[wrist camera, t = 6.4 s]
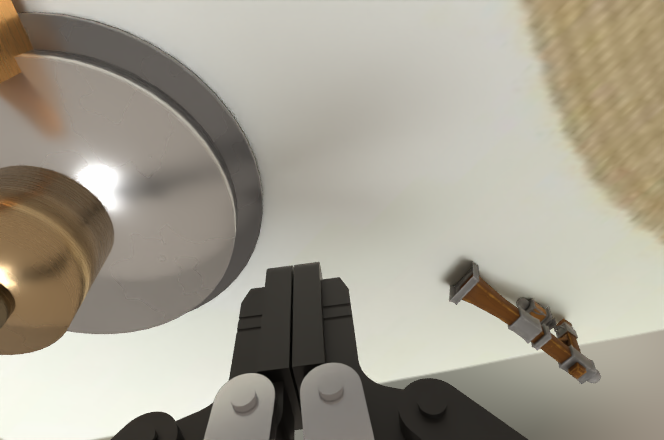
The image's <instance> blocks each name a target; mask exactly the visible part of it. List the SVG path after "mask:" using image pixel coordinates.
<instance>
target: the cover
mask: <svg viewBox="0 0 664 440" xmlns="http://www.w3.org/2000/svg"><path fill="white" fill-rule="evenodd" d="M113 243H114V229H113V224H112V221H111V218H110V216H109V214H108V212H107V210H106V209H105V208H104V206H103V205H102V203H101V202H100V201H99V200H98V199H97V198H96V196H95V195H93V194H92V193H91V192H90V191H89V190H88V189H87V188H85V187H84V186H83V185H81V184H80V183H78V182H76V181H75V180H73V179H71V178H69V177H67V176H65V175H63V174H61V173H58V172H55V171H53V170H49V169H45V168H41V167H35V166H24V165H18V166H8V167H3V168H0V355H15V354H24V353H30V352H34V351H37V350H41V349H43V348H45V347H48V346H50V345H51V344H53V343H55V342H56V341H57V340H58V339H60V338H61V337H62V336H63V335H64V333H65V332H66V331H67V329H68V327H69V326H70V324H71V322H72V320H73V318H74V317H75V315H76V313H77V311H78V309H79V308H80V306H81V304H82V302H83V300H84V299H85V297H86V295H87V293H88V292H89V290H90V288H91V286H92V284H93V283H94V281H95V279H96V277H97V275H98V274H99V272H100V270H101V268H102V266H103V265H104V263H105V261H106V259H107V258H108V256H109V254H110V252H111V250H112V247H113Z"/></svg>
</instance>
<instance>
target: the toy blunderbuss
mask: <svg viewBox="0 0 664 440" xmlns="http://www.w3.org/2000/svg"><path fill="white" fill-rule="evenodd" d="M461 299H462V300H464V301H466V302H469V303H471V304H473V305H475V306H477V307H479V308H481V309H483V310H485V311H486V312H488V313H490V314H492V315H494V316H496V317H498V318H499V319H501V320H502V321H504V322H505V323H507V324H508V329H510V330H512V331H514V332H515V333H517V334H518V335H519V336H520V337H522V338H523V339H524V340H525V341H526V342H527V343H529V342H530V341H531V343H532V347H534V348H536V350H538V349H542V350H543V351H544V352H546V353H547V354H548V355H550V356H551V357H553V358H554V359H556V361H558V363H559V367H560V368H561V369H563V370H565V371H566V372H568V373H569V374H570V375H572V376H573V377H574V378H576V379H577V380H578V381H579V382H580V383H581V384H582V383H584V382H585V381H588V382H590V383H597V382H598V381H599V380H600V373H599V372H598V370H596V369H595V366H594V363H593V361H592V360H590V359H588V358H587V357H585V356H584V355H583V354H581V352H580V349H579V346H578V343H577V340H576V339H577V338H578V337H577V334H576V331H575V330H574V329H573V327H572V324H571V323H570V322H568V321H567V320H565V319H564V318H563V319H562V320H561V321H560V322H559V323H558V324H557V323H556V321H555V318H553V317H552V314H551V311H550V309H549V307H547V308H545V309H544V308H543V307H542V306H540V305H539V304H538V303H537V302H535V301H534V300H533V298H532V299H531V300H530V301H529V302H528V300H527V299H525V298H521V299H519V300H518V301H517V307H518V308H517V307H515V306H514V305H513V304H511V303H510V302H508V301H507V300H506V299H505V298H503V297H502V296H501V295H500V294H499V293H498V292H497V291H495V290H494V289H493V288H492V287H491V286H490V285H488V284H487V283H486V282H485V281H484V280H483V279H482V278H481V277H480V276H479V269H478V265H476V264H475V263H474V262H473V267H472V268H471V269H470V270H469V271H468V273H467V274H466V275H465V276H464V277H463V278H462V279H461V280H460V281H459V282H458V283H457V284H456V285H455V287H454V286H450V296H449V302H453V303H455V304H456V305H457V304H458V303H459V301H460V300H461ZM552 318H553V319H552ZM556 324H557V325H556ZM552 328H554V331H555V332H556V334H557V337H555V336H554V335H553V334H552V333H550V330H551V329H552ZM556 330H557V331H556Z"/></svg>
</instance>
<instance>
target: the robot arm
mask: <svg viewBox="0 0 664 440" xmlns="http://www.w3.org/2000/svg"><path fill="white" fill-rule="evenodd" d="M237 331H238V332H237V334H236V340H235V347H234V353H233V359H232V365H231V371H230V377H229V381H228V382H227V383H225V384H224V385H223V386H222V387H221V389H220V390H219V391H218V393H217V395H216V397H215V399H214V402H213V403H212V404H211V405H209V406H208V407H206V408H204V409H202V410H200V411H198V412H196V413H194V414H191V415H189V416H187V417H184V418H182V419H180V420H177V421H175V420H174V418H173V417H172V416H170V415H169V414H167V413H164V412H150V413H146V414H144V415H141V416H139V417H137V418H135V419H134V420H132V421H131V422H129V423H128V424H127V425H126V426H125V427H124V428H123V429H121V430H120V431H119V432H118V433H117V434H116V435H115V436H114V437H113V438H112V439H111V440H294V430H299V429H303V435H304V440H528V439H527V438H525V437H524V436H522V435H521V434H519V433H518V432H517V431H515V430H514V429H512V428H511V427H509V426H508V425H507V424H505V423H504V422H503V421H501V420H500V419H498V418H497V417H495V416H494V415H493V414H491V413H490V412H488V411H487V410H486V409H484V408H483V407H481V406H480V405H479V404H477V403H476V402H474V401H473V400H471V399H470V398H469V397H467V396H466V395H464V394H463V393H461V392H460V391H459V390H457V389H456V388H454V387H453V386H452V385H450V384H448V383H446V382H444V381H442V380H438V379H431V378H429V379H428V378H427V379H420V380H417V381H414V382H412V383H410V384H409V385H408V386H407V387H406V388H405V389H404V390H403V389H397V388H391V387H386V386H382V385H380V384H377V383H375V382H374V381H372V380H371V379H369V378H368V377H367V376H366V375H365V374H364V373H363V371H362V370H361V367H360V365H359V361H358V354H357V347H356V340H355V333H354V325H353V318H352V311H351V304H350V296H349V289H348V288H347V286H346V285H345V284H344V282H343V281H342V280H341V279H340V277H338V278H331V279H322V273H321V267H320V263H319V262H315V263H307V264H300V265H294V267H293V266H285V267H278V268H270V269H267V273H266V283H265V287H262V288H255V289H251V290H250V291H249V293H248V294H247V295H246V297H245V298H244V300H243V301H242V303H241V309H240V315H239V322H238V328H237Z"/></svg>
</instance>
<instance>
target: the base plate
mask: <svg viewBox="0 0 664 440" xmlns="http://www.w3.org/2000/svg"><path fill="white" fill-rule="evenodd" d="M17 14H18V16H19V18H20V20H21V23H22V25H23V27H24V29H25V31H26V34H27V36H28V38H29V40H30V42H31V45H32V47H33V49H45V50H59V51H65V52H70V53H75V54H80V55H86V56H89V57H92V58H95V59H98V60H101V61H105V62H108V63H111V64H113V65H115V66H118V67H120V68H122V69H124V70H127V71H129V72H131V73H133V74H135V75H137V76H139V77H141V78H142V79H144V80H146V81H148V82H149V83H151V84H153V85H154V86H156V87H158V88H159V89H160V90H162V91H163V92H164V93H166V94H167V95H169V96H170V97H171V98H173V99H174V100H175V101H177V102H178V103H179V104H180V105H181V106H182V107H183V108H184V109H185V110H186V111H187V112H189V113H190V114H191V115H192V116H193V117H194V118H195V119H196V121H197V122H198V123H199V124H200V125H201V126H202V127H203V129H204V130H205V131H206V132H207V133H208V135H209V136H210V138H211V139H212V141H213V142H214V144H215V145H216V147H217V148H218V150H219V151H220V153H221V155H222V157H223V159H224V161H225V163H226V165H227V167H228V169H229V172H230V175H231V178H232V181H233V184H234V187H235V193H236V198H237V209H238V221H237V229H236V236H235V242H234V247H233V252H232V255H231V259H230V262H229V265H228V267H227V269H226V271H225V273H224V275H223V277H222V279H221V280H220V282H219V283H218V285H217V286H216V287H215V289H214V290H213V291H212V292H211V293H210V294H209V295H208V296H207V297H206V298H205V299H204V301H202V302H201V303H200V304H198V305H197V306H196V307H195V308H193V309H192V310H194V309H196V308H198V307H200V306H202V305H203V304H205V303H207V302H209V301H210V300H212V299H213V298H215V297H216V296H217V295H219V294H220V293H221V292H223V291H224V290H225V289H226V288H227V287H228V286H229V285H230V284H231V283H232V282H233V281H234V280H235V279H236V278H237V277H238V275H239V274H240V273H241V271H242V270H243V269H244V267H245V266H246V264H247V263H248V261H249V259H250V257H251V255H252V253H253V251H254V248H255V245H256V242H257V239H258V236H259V233H260V227H261V220H262V209H263V193H262V186H261V180H260V174H259V170H258V167H257V164H256V160H255V157H254V154H253V152H252V150H251V147H250V145H249V143H248V141H247V139H246V136H245V134H244V133H243V131H242V129H241V128H240V126H239V125H238V123H237V121H236V120H235V118H234V117H233V115H232V114H231V112H230V111H229V110H228V109H227V107H226V106H225V105H224V104H223V102H222V101H221V100H220V99H219V97H218V96H217V95H216V94H215V93H214V92H213V91H212V90H211V89H210V88H209V87H208V86H207V85H206V84H205V83H204V82H203V81H202V80H201V79H200V78H199V77H198V76H197V75H195V74H194V73H193V72H191V71H190V70H189V69H188V68H186V67H185V66H184V65H183V64H181V63H180V62H179V61H177V60H176V59H175V58H173V57H172V56H170V55H168V54H167V53H165V52H163V51H162V50H160V49H159V48H157V47H155V46H154V45H152V44H150V43H148V42H146V41H144V40H142V39H140V38H138V37H136V36H133V35H131V34H129V33H127V32H125V31H123V30H120V29H117V28H114V27H111V26H108V25H105V24H102V23H99V22H96V21H93V20H88V19H83V18H78V17H74V16H69V15H64V14H52V13H39V12H28V13H17ZM192 310H191V311H192Z"/></svg>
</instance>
